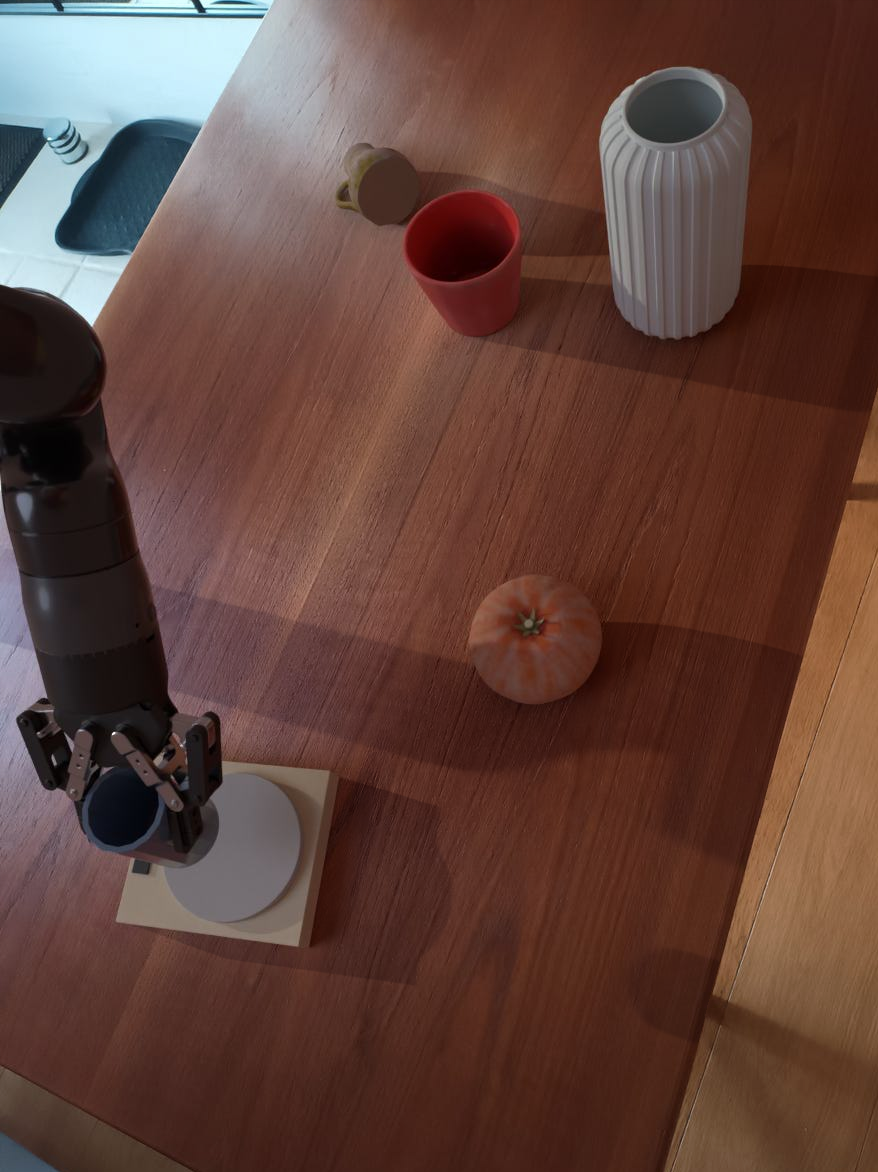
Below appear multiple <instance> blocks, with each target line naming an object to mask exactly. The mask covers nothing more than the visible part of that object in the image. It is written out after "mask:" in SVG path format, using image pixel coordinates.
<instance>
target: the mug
mask: <svg viewBox="0 0 878 1172" xmlns="http://www.w3.org/2000/svg"><path fill="white" fill-rule="evenodd" d="M342 165H343V171H344V172H345V173H346V175H347V176H348V178H347V179H346V180H344V181H342V182H341V183H340V184H339V185H338V187H337V188H336V190H335V193H334V196H333V201H334V203H335V205H336V206H337V207H338V208H341V209H344V210H352V211H355V212H357V213H358V214H359V215H361V216H362V217H363V218H365V219H366V220H367V221H370V223H373V224H374V225H376V226H378V227H384V226H391V225H397V224H399V223H401V222H402V221H404V220H405V219H406V218H407V217H408V216H409V215H410V214H411V212H412V211H413V210H414V208H415V206H416V203H417V201H418V198H419V193H420V186H421V182H420V177H419V174H418V172H417V169H416V168H415V166H414V164H412V162H411V161H410V160H409V159H408V157H406V155H404V154H403V153H402V152H400V151H398V150H396V149H394V148H389V147H374V146H373V145H372V144H370V143H369V142H358V143H355V144H353V145H351V146H350V147H349V148H348V149H347V151H346V152H345V154H344V157H343V163H342ZM347 189H348V192H349V193H348V194H349V197H350V200H351V201H343V200H342V196H343V195H344V194H345V192H346V191H347Z"/></svg>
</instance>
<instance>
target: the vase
mask: <svg viewBox="0 0 878 1172" xmlns="http://www.w3.org/2000/svg"><path fill="white" fill-rule="evenodd" d="M752 137H753V120H752V115H751V113H750V107H749V105H748V103H747V101H746V98H745V97H744V96H743V95H742V93H741V92H740V90H739V88H737V86H736V85H735V84H733V83H732V82H731V81H728V80H727V79H726V77H725V76H722V75H721V74H719V73H712V72H711V71H710V70H709V69H706V68H698V67H697V68H696V67H693V66H688V65H687V66H671V67H667V68H663V69H660V70H659V69H658V70H656V71H653V72H651V74H648V75H647V76H645V75H644V76H642V77H640V78H639V79H636V81H635V83H633V84H630V85H629V86H627V87H626V88H624V90H623V91H622V92H621V93H620V94H619V96H618V97H616V98H615V100H614V101H613V102H612V103H611V105H610V106H609V109H608V111H607V113H606V115H605V116H604V118H603V120H602V124H601V126H600V135H599V139H598V140H599V142H598V144H599V145H598V146H599V147H598V148H599V159H600V168H601V178H602V179H601V180H602V190H603V198H604V199H603V200H604V208H605V221H606V228H607V229H606V230H607V240H608V250H609V260H610V271H611V282H612V291H613V296H614V302H615V305H616V307H617V309H618V310H619V311H620V314H621V316H622V318H623V319H624V320H625V321H626V322H628V323H630V325H631V327H632V328H633V329H635V330H636V331H639V332H640V331H641V332H643V334H644V335H646V336H648V337H658V339H660V340H667V339H674V340H677V341H678V340H681V339H682V338H684V337H689V338H692V337H697V335H698V333H705V332H707V331H709V330H711V328H712V327H713V325H717V324H719V323H720V322H721V321H722V320H723V319H724V318H725V315H726V314H727V313H729V312H730V311H731V309H732V307H734V304H735V299H736V298H737V297H738V294H739V290H740V286H741V285H740V284H741V275H742V261H743V249H744V237H745V224H746V213H747V212H746V211H747V200H748V188H749V187H748V186H749V174H750V161H751V152H752V151H751V150H752Z"/></svg>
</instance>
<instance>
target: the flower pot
mask: <svg viewBox="0 0 878 1172" xmlns="http://www.w3.org/2000/svg"><path fill="white" fill-rule="evenodd" d="M522 229H523V228H522V223H521V219H520V218H519V215H518V213H517V211H516V210H515V208H514V207H513V206H512V205H511V204H510V203H509V202H508V201H507V200H505V199H504V198H503V197H501V196H499V195H497V194H495V193H492V192H489V191H485V190H480V189H461V190H457V191H452V192H449V193H445V194H443V195H441V196H438V197H436V198H434V199H433V200H431V201H429V202H428V203H427V204H425V205H424V206H423V207H422V208H421V209H419V210H418V211H417V212H416V214H414V216H413V217H412V218H411V220H410V221H409V223H408V225H407V227H406V229H405V231H404V235H403V237H402V245H401V247H402V249H401V250H402V256H403V260H404V262H405V264H406V266H407V268H408V270H409V271H410V273H411V275H412V276H413V278H414V279H415V281H416V282H417V283H418V285H419V287H420V288H421V289H422V291H423V293H424V294H425V296H426V297H427V298H428V300H429V301H430V303H431V304H432V306H433V307H434V308H435V310H436V311H437V313H438V314H439V315H440V317H441V318H442V319H443V321H444V322H445V324H447V326H448V327H449V328H450V329H451V330H452V331H454V332H456V333H457V334H460V335H462V336H466V337H472V338H473V337H475V338H476V337H485V336H488V335H492V334H493V333H495V332H497V331H499V330H501V329H503V328H505V326H507V325H508V324H509V323H510V322H511V320H512V319H513V318H514V316H515V315H516V313H517V311H518V307H519V303H520V290H521V276H522V275H521V273H522V250H523V249H522V245H523V231H522Z"/></svg>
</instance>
